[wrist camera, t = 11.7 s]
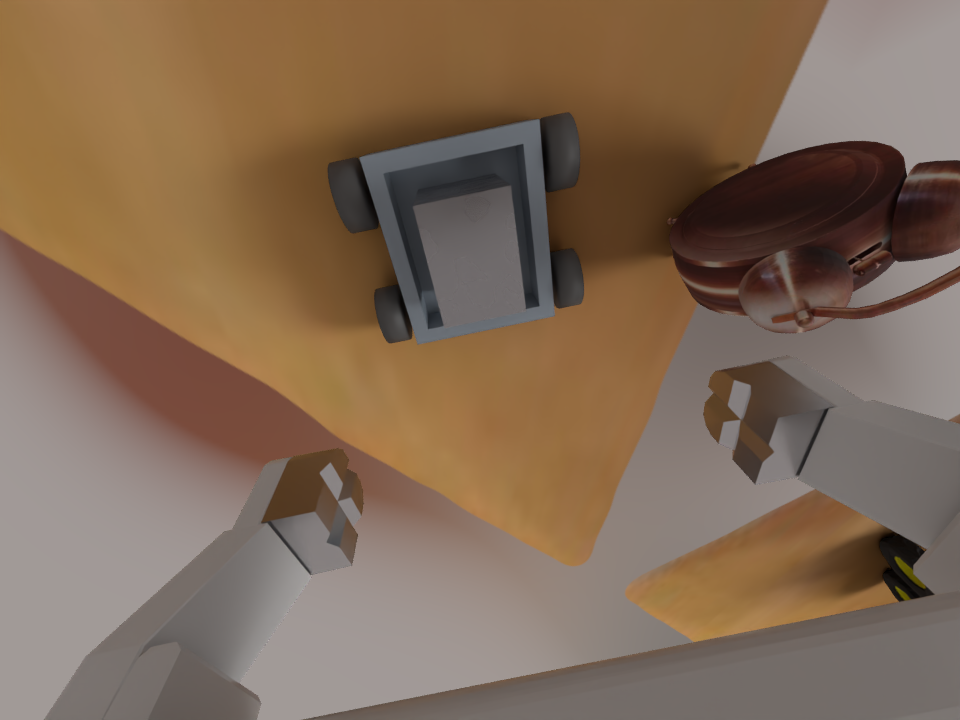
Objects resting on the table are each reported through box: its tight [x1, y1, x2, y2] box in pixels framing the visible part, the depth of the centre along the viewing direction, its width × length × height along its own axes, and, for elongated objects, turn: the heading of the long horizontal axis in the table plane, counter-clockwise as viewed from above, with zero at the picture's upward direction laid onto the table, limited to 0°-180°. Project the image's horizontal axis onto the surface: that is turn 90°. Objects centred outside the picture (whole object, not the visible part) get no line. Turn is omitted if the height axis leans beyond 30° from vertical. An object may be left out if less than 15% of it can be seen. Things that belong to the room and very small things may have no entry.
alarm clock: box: [667, 141, 960, 333], centre depth 21 cm, size 11×5×15 cm, turn 125°
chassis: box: [328, 112, 584, 344], centre depth 25 cm, size 12×14×4 cm
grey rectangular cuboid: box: [413, 173, 526, 328], centre depth 23 cm, size 7×5×6 cm
